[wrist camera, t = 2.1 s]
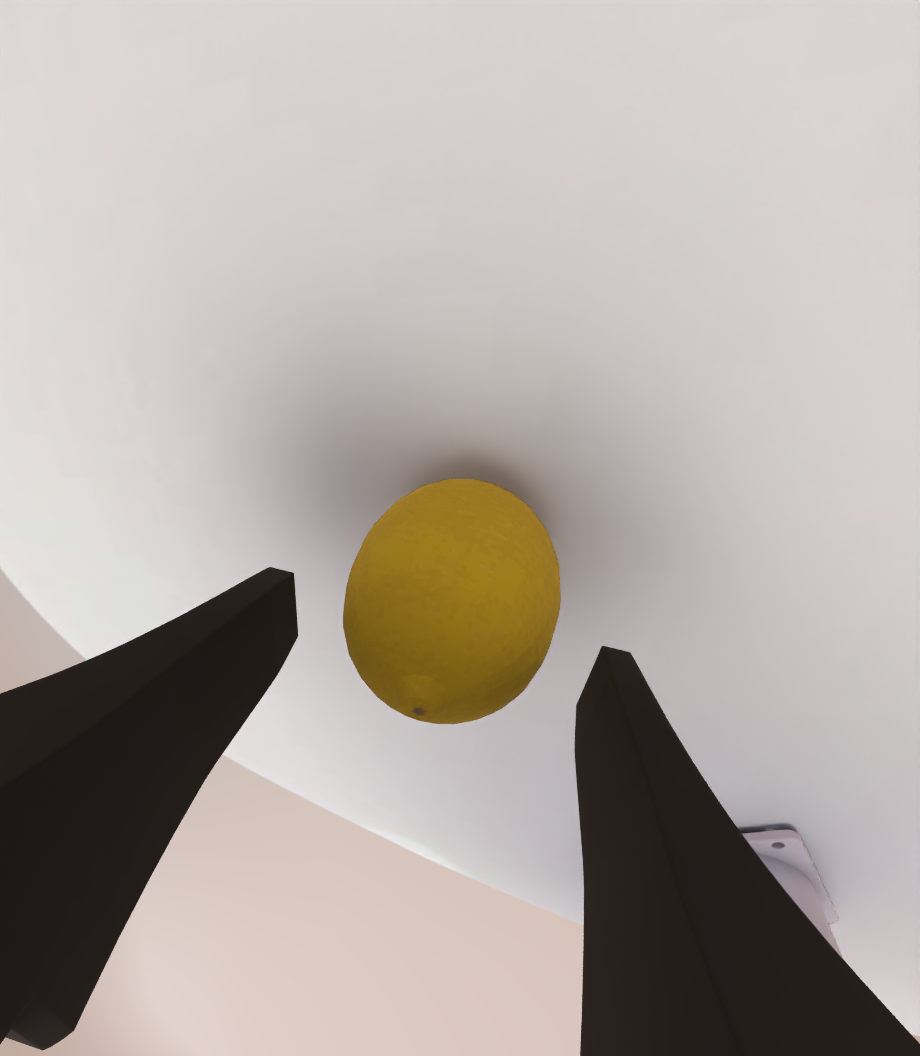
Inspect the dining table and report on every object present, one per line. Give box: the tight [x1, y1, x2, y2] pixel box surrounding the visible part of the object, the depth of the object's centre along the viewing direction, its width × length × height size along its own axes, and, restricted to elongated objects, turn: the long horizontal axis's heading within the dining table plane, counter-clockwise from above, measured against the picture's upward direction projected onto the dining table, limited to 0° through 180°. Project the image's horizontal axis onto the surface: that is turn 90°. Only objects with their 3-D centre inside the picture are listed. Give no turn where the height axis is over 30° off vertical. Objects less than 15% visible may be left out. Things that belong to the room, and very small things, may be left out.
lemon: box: [343, 479, 561, 724], centre depth 12 cm, size 6×6×8 cm
